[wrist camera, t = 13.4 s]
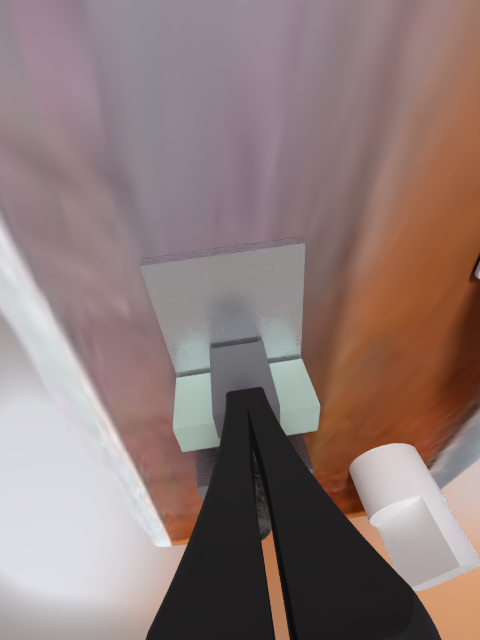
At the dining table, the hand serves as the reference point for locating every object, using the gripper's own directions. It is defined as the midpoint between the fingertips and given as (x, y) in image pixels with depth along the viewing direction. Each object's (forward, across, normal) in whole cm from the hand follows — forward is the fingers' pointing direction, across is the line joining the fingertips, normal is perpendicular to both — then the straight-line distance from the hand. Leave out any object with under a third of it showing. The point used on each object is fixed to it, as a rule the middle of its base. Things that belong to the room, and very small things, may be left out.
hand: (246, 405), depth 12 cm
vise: (+10, 0, +9) cm, 14 cm away
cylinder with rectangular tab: (+11, -17, +31) cm, 37 cm away
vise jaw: (+9, 0, +8) cm, 12 cm away
